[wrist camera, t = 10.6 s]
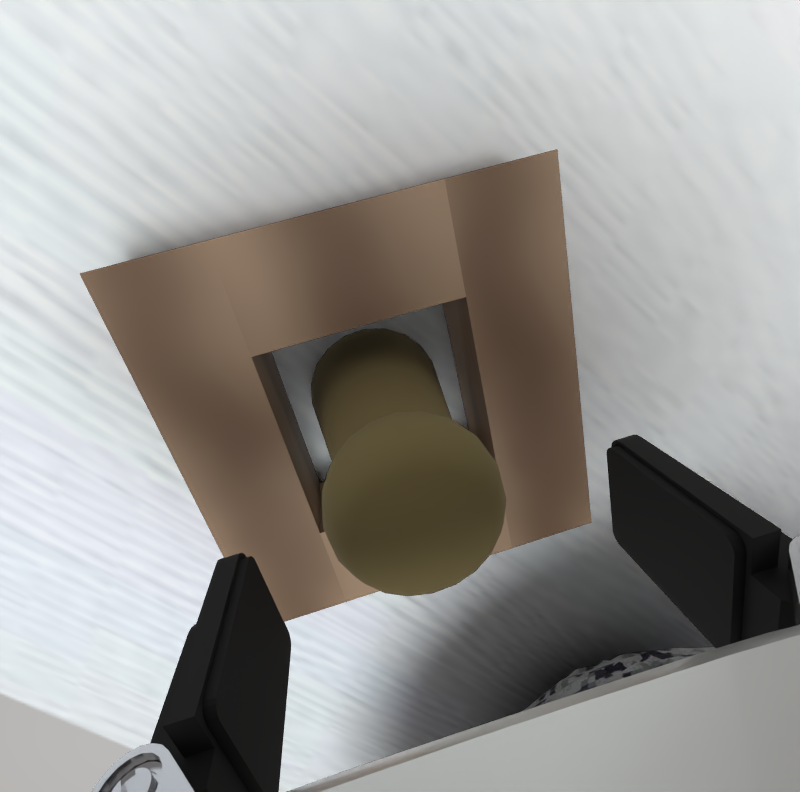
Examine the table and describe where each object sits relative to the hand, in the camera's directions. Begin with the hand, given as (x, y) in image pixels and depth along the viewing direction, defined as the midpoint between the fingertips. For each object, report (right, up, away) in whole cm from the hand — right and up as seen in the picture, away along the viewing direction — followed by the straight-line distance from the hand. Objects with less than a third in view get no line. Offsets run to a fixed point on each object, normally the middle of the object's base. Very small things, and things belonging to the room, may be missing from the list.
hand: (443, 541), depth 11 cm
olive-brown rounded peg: (-2, +4, +10) cm, 11 cm away
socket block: (-2, +4, +10) cm, 11 cm away
